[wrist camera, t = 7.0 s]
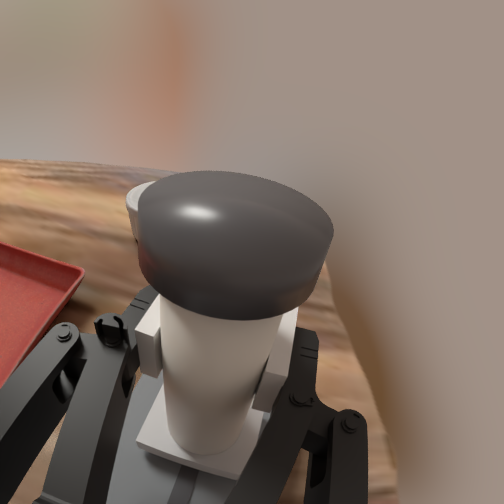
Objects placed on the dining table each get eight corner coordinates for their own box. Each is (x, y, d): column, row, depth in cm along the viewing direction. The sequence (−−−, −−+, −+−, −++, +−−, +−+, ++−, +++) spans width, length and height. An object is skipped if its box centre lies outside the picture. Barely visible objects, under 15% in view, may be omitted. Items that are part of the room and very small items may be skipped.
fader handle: (244, 483, 13) (354, 295, 6) (137, 449, 14) (82, 220, 6) (262, 409, 18) (342, 199, 10) (169, 381, 18) (175, 159, 11)
